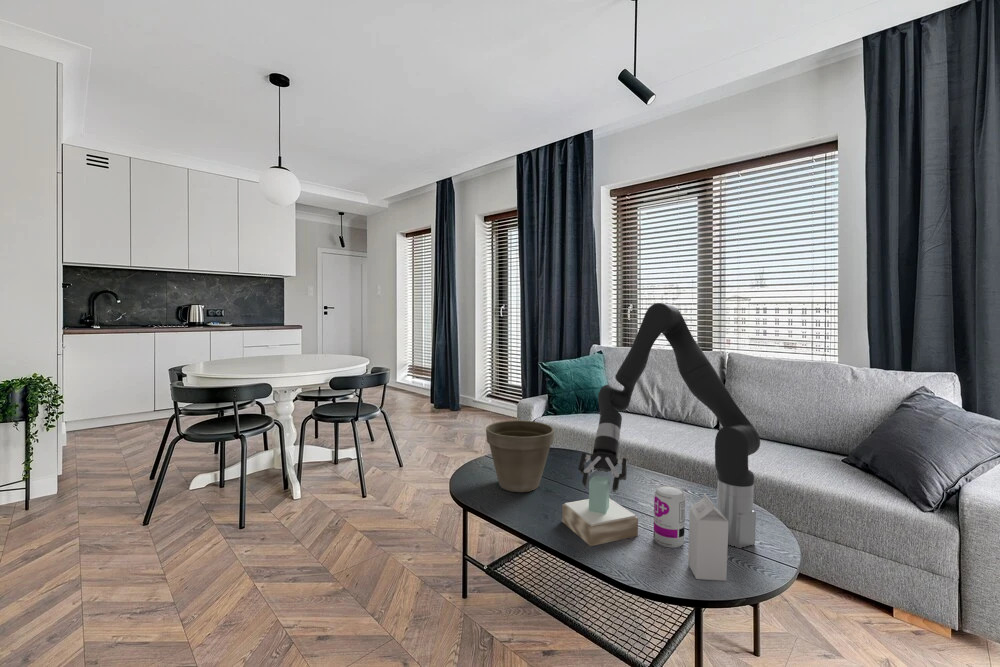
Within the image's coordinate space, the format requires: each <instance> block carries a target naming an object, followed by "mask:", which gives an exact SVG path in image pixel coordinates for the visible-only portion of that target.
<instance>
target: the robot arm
mask: <svg viewBox="0 0 1000 667" xmlns="http://www.w3.org/2000/svg"><path fill="white" fill-rule="evenodd" d="M661 334H662V335H663V336H664V338H665V339H666V341H667V342H668V344H669V345H670V346H671V348H672V350H673V353H674V356H675V360H676V361H675V362H676V364H677V369H678V372H679V374H680V376H681V378H682V380H683V381H684V383H685V384H686V387H687V388H688V389H689V391H690V393H691V394H692V395H693V396H694V397H695V398H696V399H697V400H699V402H701V403H702V404H703V405H704V406H705V407H707V408H708V409H709V410H710V411H711V413H713V414H714V416H715V417H716V419H717V420H718V422H719V424H720V425H721V427H722V428H720V429H719V430H718V431H717V432H716V436H715V439H714V466H715V469H716V472H717V489H716V490H717V491H716V493H717V494H716V495H717V496H716V508H717V509H718V510H719V511H720V512H721V513H722V515H723V516H724V517H725V518H726V519H727V521H728V546H730V545H731V547H734V546H735V547H734V548H737V549H739V548H740V549H743V548H742V547H744V548H747V547H746V546H748V547H750V546H749V545H752V544H755V545H756V527H757V526H756V524H757V523H756V522H757V512H756V511H755V510H754V491H755V490H754V489H755V474H754V472H752V470H749V456H750V455H754V454H755V453H756V452H758V450H759V449H760V447H761V438H760V435H759V433H758V432H757V430H756V428H755V426H754V425H753V424H752V423H751V422H750V420H749V419H748V418H747V417H746V415H745V414H744V413H743V412H742V410H741V409H740V407H739V406H738V405H737V403H736V402H735V400H734V398H733V397H732V395H731V393H730V392H729V391H728V389H727V387H726V386H725V384H724V383H723V381H722V379H721V378H720V376H719V374H718V373H717V371H716V369H715V368H714V367H713V364H712V363H711V362H710V360H709V359H708V358H707V356H706V355H705V353H704V352H703V350H702V348H701V347H700V345H699V344H698V343H697V341H696V340H695V338H694V336H693V334H692V333H691V331H690V328H689V326H688V324H687V322H686V321H685V318H684V316H683V314H682V313H681V311H680V310H679V309H678V308H677V307H676V306H674V305H672V304H668V303H665V302H664V303H663V302H656V303H653V304H651V305H650V306H649V307H648V308H647V310H646V312H645V313H644V316H643V318H642V321H641V324H640V327H639V330H638V331H637V333H636V336H635V339H634V341H633V343H632V345H631V347H630V349H629V352H628V353H627V355H626V357H625V358H624V360H623V362H622V363H621V365H620V367H619V368H618V371H617V372H616V374H615V380H616V381H617V382H618V384H620V385H621V386H623V389H620V388H618V387H616V386H613V385H611V384H605V385H603V386H602V387H601V388H600V389H599V392H598V396H597V401H598V408H599V421H598V427H597V429H596V432H595V434H596V435H595V439H594V444H593V450H592V454H591V455H589V454H587V453H586V452H583V453H581V457H580V461H579V464H578V468H577V469H578V471H579V473H580V475H582V480H581V483H582V486H583V488H585V489H588V485H589V480H590V478H589V477H590V475H591V474H592V473H594V472H595V471H598V472H605V473H609V472H610V473H611V474H612V476H613V482H612V490H611V491H612V493H616V492H618V491H619V485H620V481H621V480H624V481H626V480H627V473H628V460H627V458H625V457H623V458H622V459H621V458H618V454H619V447H620V442H621V427H622V421H623V418H622V415H621V413H620V412H624V411H625V410H626V409H628V408H629V406H630V403H631V400H632V395H633V391H634V389H635V388H636V385H637V383H638V380H639V379H640V378H641V376H642V374H643V373H644V371H645V369H646V366H647V364H648V360H649V356H650V352H651V350H652V347H653V346H654V344H655V342H656V340H657V339H658V338H659V337H660V335H661ZM589 461H591V462H590V464H588V466H587V467H586V464H587V463H588V462H589ZM617 465H619V466H620V468H621V472H620V473H618V471H617V469H616V466H617ZM585 467H586V468H585ZM752 546H753V545H752Z"/></svg>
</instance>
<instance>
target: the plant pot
mask: <svg viewBox="0 0 1000 667" xmlns="http://www.w3.org/2000/svg"><path fill="white" fill-rule="evenodd" d="M485 432H486V435H485V436H486V442H487V444H489V448H490V452H491V456H492V457H491V458H492V461H493V464H494V469H495V473H496V478H497V480H498V484H499V486H500V488H501V489H503V490H505V491H509V492H513V493H528V492H532V490H533V491H535V490H536V489H538V488H539V486H540V483H541V481H542V480H541V479H542V477H543V473H544V469H545V466H546V463H547V460H548V456H549V453H550V448H551V446H552V445H553V443H554V436H555V429H554V427H552V426H551V425H549V424H548V423H547V424H546V423H543V422H539V421H531V420H504V421H503V420H502V421H498V422H494V423H491V424H489V425H487V426H486V427H485Z"/></svg>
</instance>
